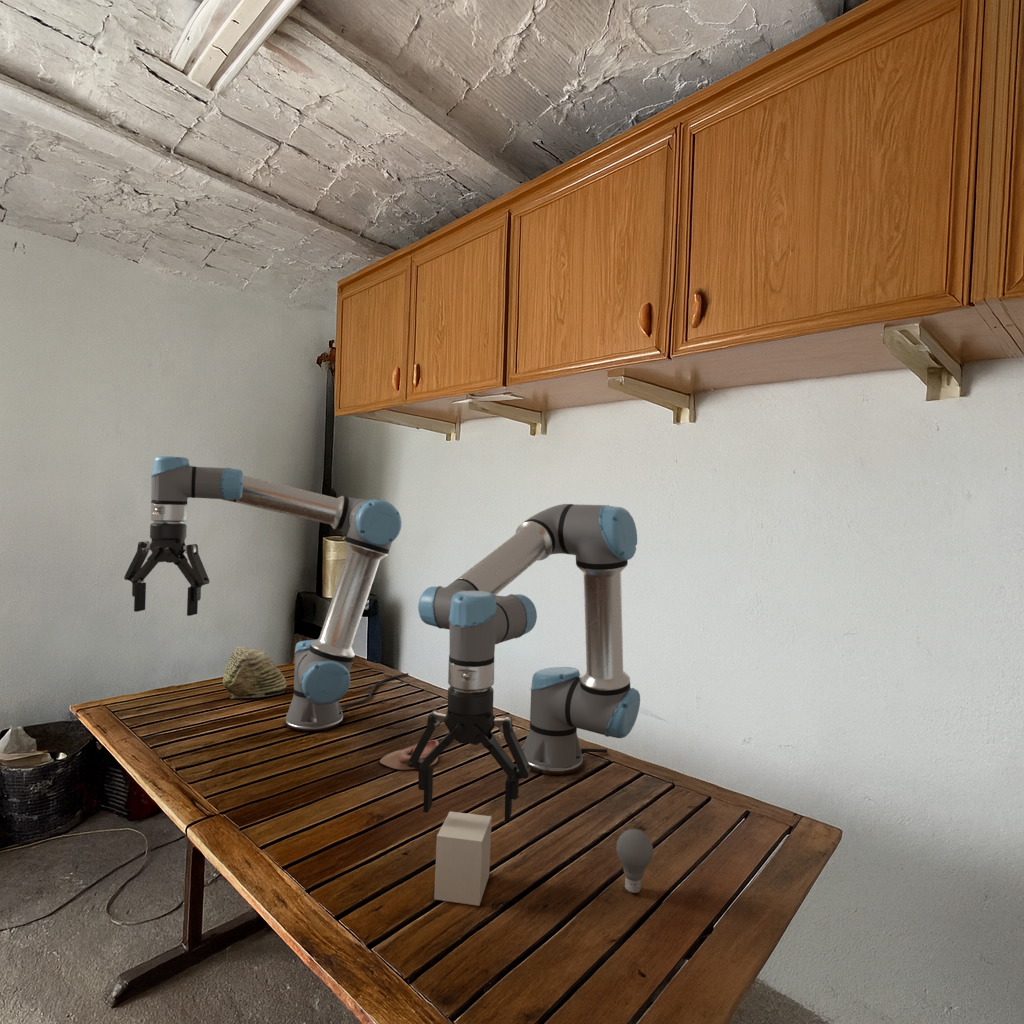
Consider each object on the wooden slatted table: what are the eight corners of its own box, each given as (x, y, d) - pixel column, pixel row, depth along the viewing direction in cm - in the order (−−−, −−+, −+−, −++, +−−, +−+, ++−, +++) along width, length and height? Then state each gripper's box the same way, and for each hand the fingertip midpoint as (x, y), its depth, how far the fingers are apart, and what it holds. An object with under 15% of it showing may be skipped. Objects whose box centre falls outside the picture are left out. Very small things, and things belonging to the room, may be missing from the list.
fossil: (218, 695, 195) (220, 647, 195) (278, 685, 208) (279, 640, 207) (228, 703, 189) (230, 653, 188) (289, 692, 201) (290, 645, 201)
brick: (447, 870, 109) (449, 811, 109) (489, 876, 108) (491, 816, 108) (434, 899, 101) (436, 835, 101) (479, 906, 100) (482, 841, 100)
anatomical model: (374, 749, 149) (393, 732, 160) (374, 766, 149) (393, 748, 161) (428, 756, 147) (443, 739, 158) (427, 774, 147) (443, 754, 158)
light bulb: (610, 879, 108) (613, 822, 108) (644, 879, 109) (647, 822, 109) (619, 902, 102) (622, 840, 102) (655, 901, 103) (658, 840, 103)
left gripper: (108, 520, 146) (105, 611, 147) (207, 525, 143) (204, 619, 143) (132, 519, 154) (129, 606, 154) (227, 524, 150) (224, 613, 151)
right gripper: (390, 687, 102) (387, 816, 103) (544, 699, 99) (539, 833, 99) (405, 674, 110) (402, 794, 111) (548, 685, 106) (544, 809, 107)
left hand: (165, 612), depth 149 cm, fingers open, 13 cm apart
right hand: (467, 812), depth 105 cm, fingers open, 13 cm apart
